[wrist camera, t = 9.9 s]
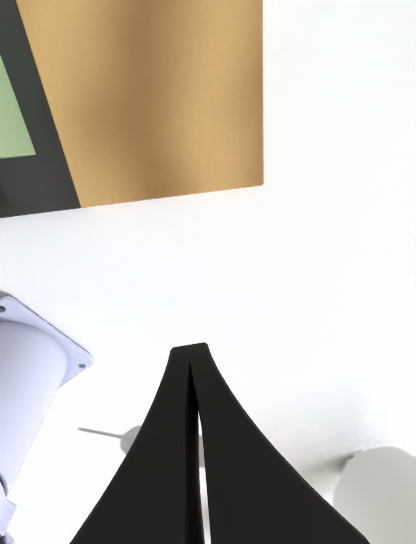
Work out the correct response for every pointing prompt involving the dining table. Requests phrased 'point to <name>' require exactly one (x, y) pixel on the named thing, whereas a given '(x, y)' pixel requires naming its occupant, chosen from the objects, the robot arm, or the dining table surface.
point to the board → (132, 100)
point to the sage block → (12, 122)
